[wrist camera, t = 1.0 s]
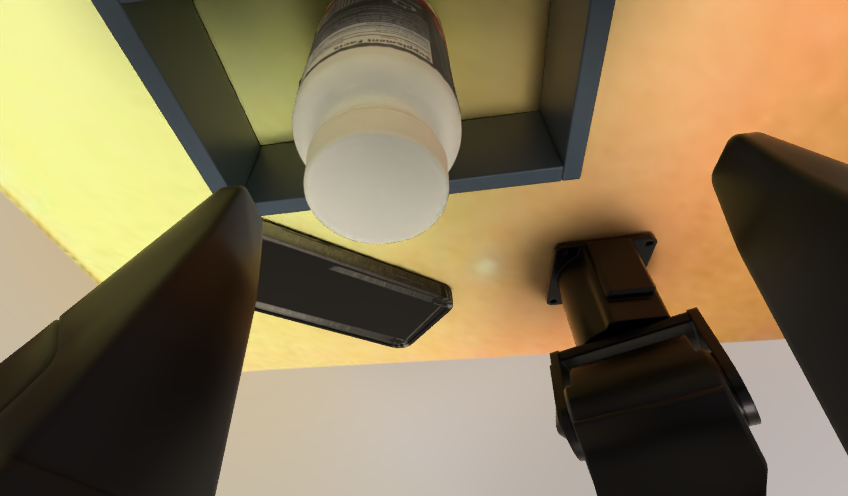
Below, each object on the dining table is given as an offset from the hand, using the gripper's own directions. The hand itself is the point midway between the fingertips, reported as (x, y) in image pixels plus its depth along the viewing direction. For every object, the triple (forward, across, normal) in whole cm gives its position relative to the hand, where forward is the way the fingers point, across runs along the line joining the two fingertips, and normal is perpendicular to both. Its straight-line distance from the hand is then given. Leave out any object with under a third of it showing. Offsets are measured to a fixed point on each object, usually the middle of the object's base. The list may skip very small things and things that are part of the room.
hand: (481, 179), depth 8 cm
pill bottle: (+12, +3, +2) cm, 13 cm away
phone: (+12, +8, +18) cm, 24 cm away
